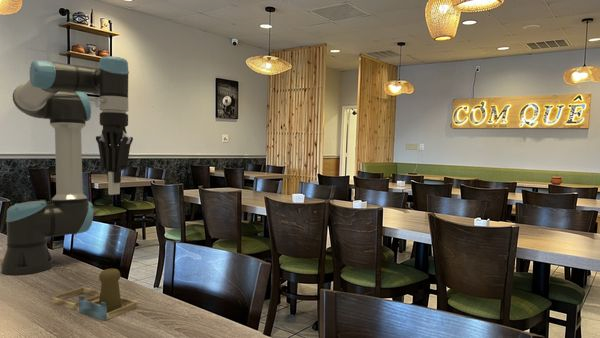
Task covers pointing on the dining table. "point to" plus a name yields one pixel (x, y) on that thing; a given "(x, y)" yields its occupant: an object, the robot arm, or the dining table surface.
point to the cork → (110, 289)
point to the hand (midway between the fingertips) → (114, 194)
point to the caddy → (92, 304)
